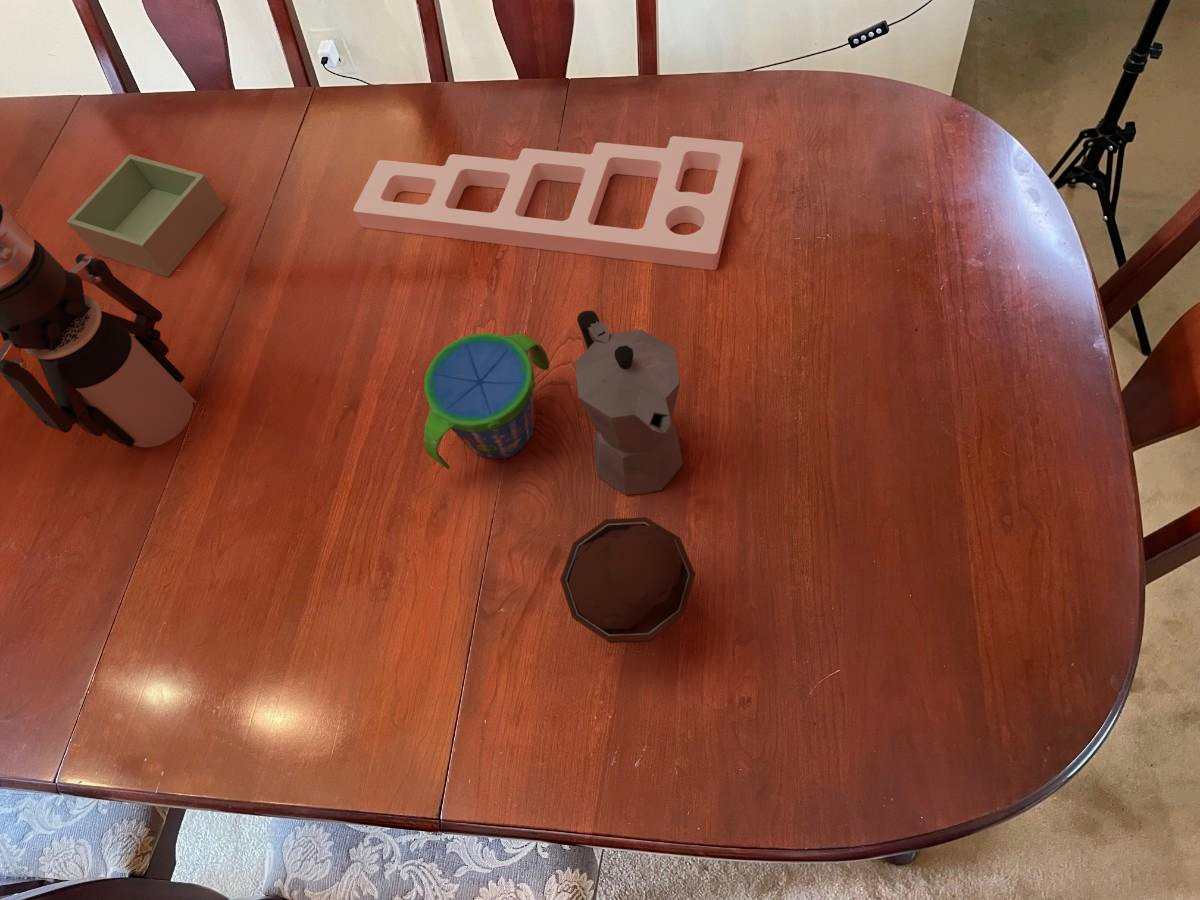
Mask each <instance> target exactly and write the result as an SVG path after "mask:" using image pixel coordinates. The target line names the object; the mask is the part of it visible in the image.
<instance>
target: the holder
mask: <svg viewBox="0 0 1200 900" xmlns="http://www.w3.org/2000/svg"><path fill="white" fill-rule="evenodd" d="M594 144H595V145H594V147H593V150H592V152H591V153H580V152H579V153H578V152H570V151H569V152H568V151H557V150H550V149H549V150H547V149H538V148H537V149H536V148H527V147H526V148H525V147H524V148H522V149H521V151H520V153H519V156H518V158H517V159H507V158H506V159H505V158H496V157H495V158H494V157H487V156H486V157H485V156H475V155H464V154H455V153H452V154H450V155H449V156H448V158H447V160H446V162H445V164H444V165H433V164H425V163H416V162H407V161H405V162H404V161H395V160H386V159H379V160H378V161H377V163H376V164H375V166H374V168H373V170H372V172H371V174H370V176H369V177H368V180H367V182H366V184H365V186H364V187H363V189H362V191H361V193H360V195H359V197H358V199H357V201H356V202H355V205H354V207H353V209H352V210H353V213H354V214H355V217H356V219H357V221H358V223H359V225H360V227H361V228H366V229H373V230H381V231H389V232H398V233H407V234H412V235H413V234H414V235H422V236H430V237H439V238H446V239H447V238H448V239H455V240H463V241H472V242H480V243H488V244H496V245H503V246H511V247H521V248H529V249H537V250H545V251H552V252H553V251H554V252H562V253H569V254H576V255H577V254H578V255H584V256H585V255H586V256H593V257H603V258H610V259H620V260H627V261H635V262H642V263H643V262H644V263H651V264H658V265H659V264H660V265H667V266H674V267H675V266H677V267H684V268H692V269H700V270H701V269H702V270H710V271H715V270H717V269H718V266H719V261H720V258H721V253H722V249H723V245H724V241H725V236H726V233H727V229H728V225H729V220H730V216H731V211H732V207H733V203H734V201H735V200H734V199H735V195H736V191H737V187H738V183H739V179H740V174H741V170H742V166H743V161H744V142H742V141H733V140H732V141H731V140H722V139H721V140H720V139H712V138H711V139H709V138H697V137H689V136H679V135H678V136H676V135H673V136H671V137H670V138H669V141H668V145H667V147H655V146H645V145H644V146H643V145H632V144H622V143H612V142H600V141H599V142H596V143H594ZM690 169H694V170H695V169H697V170H705V171H707V170H708V171H714V172H715V171H716V177H715V180H714V184H713V188H712V191H711V192H709V193H705V194H703V193H700V192H695V191H680V189H681V186H682V183H683V179H684V175H685V172H686V171H687V170H690ZM614 175H624V176H633V177H635V176H636V177H645V178H654V179H657V181H656V185H655V188H654V191H653V195H652V198H651V201H650V203H649V204H650V205H649V207H648V210H647V214H646V218H645V221H644V224H643V226H642V227H641V228H637V229H634V228H625V227H618V226H617V227H616V226H609V225H608V226H607V225H599V224H595V223H596V220H597V218H598V215H599V211H600V209H601V205H602V202H603V200H604V197H605V193H606V190H607V188H608V185H609V181H610V179H611V177H613V176H614ZM540 181H554V182H563V183H564V182H565V183H571V184H572V183H574V184H580V186H579V188H578V192H577V194H576V198H575V201H574V203H573V206H572V208H571V211H570V214H569V216H568V218H567V219H565V220H556V219H546V218H538V217H530V216H525V214H526V213H527V212H526V211H527V209H528V206H529V204H530V201H531V199H532V196H533V194H534V191H535V189H536V186H537V184H538V182H540ZM470 186H473V187H474V186H476V187H485V188H494V189H502V190H504V192H503V194H502V197H501V199H500V202H499V204H498V206H497V208H496V210H494V211H493V212H485V211H477V210H468V209H460V208H457V207H458V205H459V202H460V200H461V198H462V195H463V193H464V191H465V189H466V188H467V187H470ZM402 192H409V193H418V194H427V195H430V196H429V198H428V200H427V201H426V202H425V203H423V204H417V203H416V204H415V203H406V202H400V201H399V202H398V201H395V200H396V197H397V195H398V194H399V193H402ZM680 224H693V225H696V226H697V227H699V228H700V229H698V230H697V231H695V232H693V233H689V234H679V233H675V232H674V231H672V230H671V229H672V228H673V227H675V226H677V225H680Z"/></svg>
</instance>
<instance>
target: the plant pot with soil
mask: <svg viewBox="0 0 1200 900" xmlns="http://www.w3.org/2000/svg"><path fill="white" fill-rule="evenodd" d="M695 576H696V572H695V570H694V567H693V565H692V563H691V560H690V558H689V556H688V553H687V551H686V548H685V546H684V544H683V541H682V538H681V537H680V536H678V535H676V534H675V533H673V532H672V531H670V530H668V529H666V528H665V527H663V526H661V525H660V524H658V523H656V522H655V521H653V520H652V519H650V518H648V517H627V518H625V517H624V518H610V519H609V518H607V519H606V518H605V519H604V520H603V521H601V522H600V523H599V524H597V525H596V526H594V527H593V528H591V529H590V530H589V531H587V532H586V533H585V534H583V535H582V536H580V537H579V538H578V539H577V540H575V541H573V542H572V545H571V548H570V551H569V554H568V556H567V559H566V562H565V565H564V568H563V570H562V573H561V575H560V579H559V581H560V584H561V587H562V591H563V592H564V596H565V600H566V602H567V606H568V608H569V611H570V615H571V618H572V619H573V620H575V621H576V622H577V623H579V624H581V625H582V626H583V627H585V628H587V629H588V630H590V631H591V632H592V633H594V634H596V635H597V636H599V637H600V638H601V639H603V640H604V641H606V642H608V643H609V644H620V643H621V644H623V643H628V644H629V643H647V642H648V643H649V642H652V641H653V640H654V639H656V638H657V637H658V636H660V635H661V634H662V633H664V632H665V631H666V630H667V629H669V628H670V627H671V626H672V625H673V624H675V623H677V622H678V621H679V620H680V619H682V618H683V616H684V615H685V613H686V609H687V605H688V601H689V598H690V593H691V591H692V588H693V584H694V581H695Z"/></svg>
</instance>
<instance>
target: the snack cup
mask: <svg viewBox="0 0 1200 900" xmlns="http://www.w3.org/2000/svg"><path fill="white" fill-rule="evenodd" d="M528 354H529V356H528ZM531 361H532V362H531ZM533 364H534V366H536V367H537V368H539V369H541V370H543V371H548V370H549V369H550V359H549V357H548V353H547V352H546V350H545V349H544V347H543V346H542V345H541V344H540V343H539V342H537V341H536V340H534V339H533V338H531V337H530V336H527V335H525V334H521V333H518V334H517V333H516V334H511V335H510V334H509V335H507V336H504V335H501V334H497V333H490V332H482V333H474V334H469V335H466V336H463V337H461V338H459V339H456V340H454V341H452V342H450V343H449V344H447V345H446V346H445V347H443V348H442V349H441V350H440V351H439V352H438V353H437V354H436V356H435V357H434V358H432V360H431V362H430V364H429V366H428V368H427V370H426V372H425V375H424V384H423V386H424V387H423V388H424V394H425V399H426V401H427V404H428V406H429V411H428V414H427V418H426V421H425V423H424V431H423V445H424V449H425V452H426V454H427V455H428V456H429V457H430V458H432V459H433V460H434V461H435V462H437V463H438V464H439V465H441V466H442V467H444V468H445V469H447V470H450V469H451V466H450V465H449V464H448V463H447V461H445V460H444V458H443V457H442V456H441V455H440V453H439V451H438V448H439V446H440V444H441V441H442V439H443V437H444V435H445V434H447V432H449V431H450V430H451V431H452V432H453V433H455V434H456V435H457V436H458V438H459V439H460V440H461V442H463V443H464V444H465V446H466V447H467V448H468V449H469V450H471V451H472V452H473V453H474V454H475V455H477V456H481V457H484V458H487V459H494V460H497V459H502V458H503V459H506V458H507V459H509V458H510V457H513V456H514V455H515V454H517V453H518V452H519V451H520V450H522V449H524V447H525V446H526V445H527V444H528V442H529V441H530V439H531V437H532V436H533V435H534V429H535V407H534V400H533V399H534V394H533V393H534V390H535V387H536V382H535V373H534V367H533Z"/></svg>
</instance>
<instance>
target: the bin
mask: <svg viewBox="0 0 1200 900" xmlns="http://www.w3.org/2000/svg"><path fill="white" fill-rule="evenodd" d="M226 209H227V207H226V205H225V204H224V202H223V200H222V199H221V198H220V196H219V195H218V193H217V192H216V190H215V189H214V187H213V186H212V184H211V183H210V181H209V180H208V178H207V176H206V175H205V174H203V173H200V172H196V171H193V170H189V169H185V168H181V167H178V166H174V165H170V164H167V163H165V162H160V161H157V160H154V159H149V158H146V157H142V156H138V155H135V154H132V153H129V154H128V155H127V156H126V157H125V158H124V160H122V162H121V163H119V165H118V166H117V167H116V168H114V170H113V171H112V172H111V173H110V174H109V175H108V176H107V177H106V178H105V179H104V180H103V182H101V184H100V185H98V187H97V188H96V189H95V190H94V191H93V192H92V194H90V195H89V196H88V198H86V200H85V201H84V202H83V203H82V204H81V205H80V206H79V207H78V208H77V210H76V211H74V212H73V214H71V215H70V217H69V218H68V219H67V220H66V224H68V226H69V227H70V228H71V229H72V230H73V231H74V233H76V235H77V236H78V237H79V239H81V240H82V241H83V242H84V243H85V245H86V246H87V247H88V248H89V249H90V250H91V251H92V252H93V254H95V255H99V256H101V257H105V258H107V259H111V260H114V261H116V262H120V263H123V264H125V265H129V266H131V267H135V268H138V269H142V270H144V271H147V272H149V273H153V274H156V275H158V276H159V275H160V276H162V277H165V278H169V277H170V276H171V275H172V274H173V272H174V271H175V270H176V269H177V268H178V266H179V265H180V264H181V263H182V262H183V260H185V258H186V257H187V255H188V254H189V253H190V252H191V251H192V249H193V248H195V246H196V245H197V244H198V243H199V242H200V240H201V239H202V238H203V236H205V234H206V233H207V232H208V231H209V230H210V228H211V227H212V226H213V225H214V223H216V221H217V220H218V219H219V217H221V215H222V214H223V213H224V212H225V210H226Z"/></svg>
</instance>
